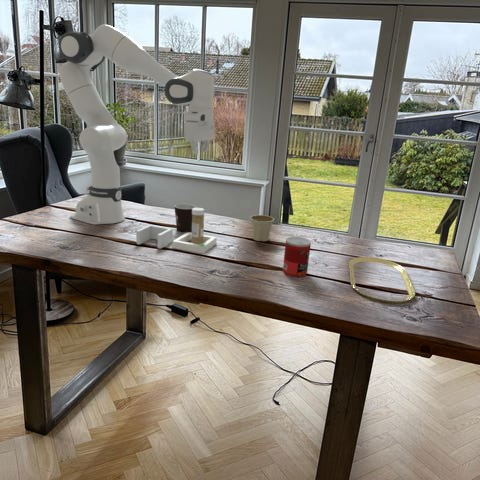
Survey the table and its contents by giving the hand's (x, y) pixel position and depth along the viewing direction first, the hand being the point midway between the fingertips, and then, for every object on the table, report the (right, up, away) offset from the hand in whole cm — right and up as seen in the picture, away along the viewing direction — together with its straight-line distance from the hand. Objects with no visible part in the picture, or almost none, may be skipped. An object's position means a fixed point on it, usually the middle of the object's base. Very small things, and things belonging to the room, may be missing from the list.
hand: (200, 152), depth 164 cm
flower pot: (+24, -34, +3) cm, 41 cm away
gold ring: (+60, -47, -28) cm, 82 cm away
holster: (-16, -35, -10) cm, 40 cm away
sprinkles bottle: (0, -36, -7) cm, 36 cm away
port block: (-1, -36, -9) cm, 37 cm away
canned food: (+33, -45, -27) cm, 62 cm away
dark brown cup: (-7, -30, +9) cm, 32 cm away
